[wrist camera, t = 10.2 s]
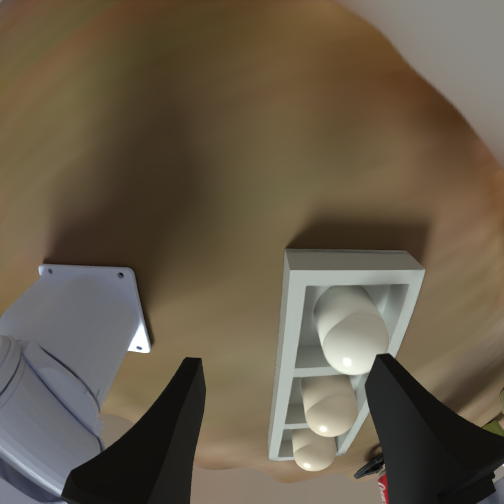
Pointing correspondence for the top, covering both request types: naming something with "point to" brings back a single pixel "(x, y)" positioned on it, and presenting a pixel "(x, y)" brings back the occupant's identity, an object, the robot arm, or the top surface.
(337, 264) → the egg carton
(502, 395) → the squeeze bottle
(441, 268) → the top surface
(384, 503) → the soda can
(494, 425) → the plant pot
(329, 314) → the egg
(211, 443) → the top surface
